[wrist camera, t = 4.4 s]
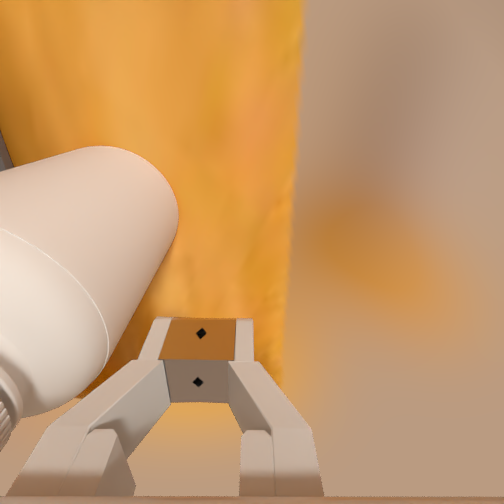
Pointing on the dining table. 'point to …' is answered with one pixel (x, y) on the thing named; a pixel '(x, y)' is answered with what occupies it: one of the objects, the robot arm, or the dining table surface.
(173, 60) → the dining table surface
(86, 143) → the dining table surface
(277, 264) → the dining table surface
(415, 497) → the robot arm
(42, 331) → the pill bottle
